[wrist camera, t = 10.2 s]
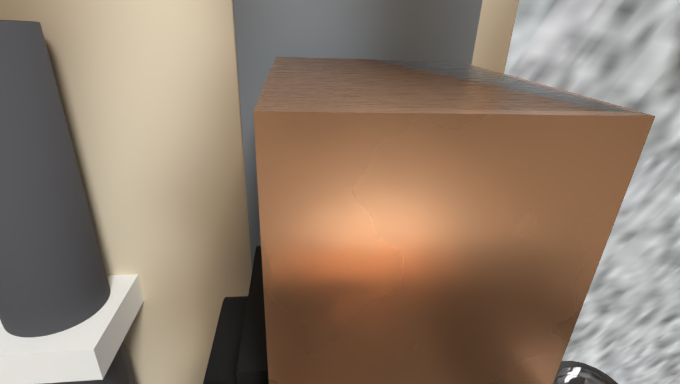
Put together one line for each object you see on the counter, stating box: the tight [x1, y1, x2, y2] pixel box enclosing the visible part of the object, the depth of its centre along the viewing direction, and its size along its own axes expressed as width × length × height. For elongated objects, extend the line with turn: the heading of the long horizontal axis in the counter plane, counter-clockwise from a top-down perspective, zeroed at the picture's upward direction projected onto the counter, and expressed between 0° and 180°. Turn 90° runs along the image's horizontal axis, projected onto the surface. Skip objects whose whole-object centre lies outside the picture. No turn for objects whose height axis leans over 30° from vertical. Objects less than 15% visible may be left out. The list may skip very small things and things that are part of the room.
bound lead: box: [0, 20, 144, 384], centre depth 10 cm, size 3×13×3 cm, turn 178°
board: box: [0, 0, 519, 384], centre depth 12 cm, size 14×16×1 cm
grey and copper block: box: [253, 57, 655, 384], centre depth 9 cm, size 4×12×5 cm, turn 178°
